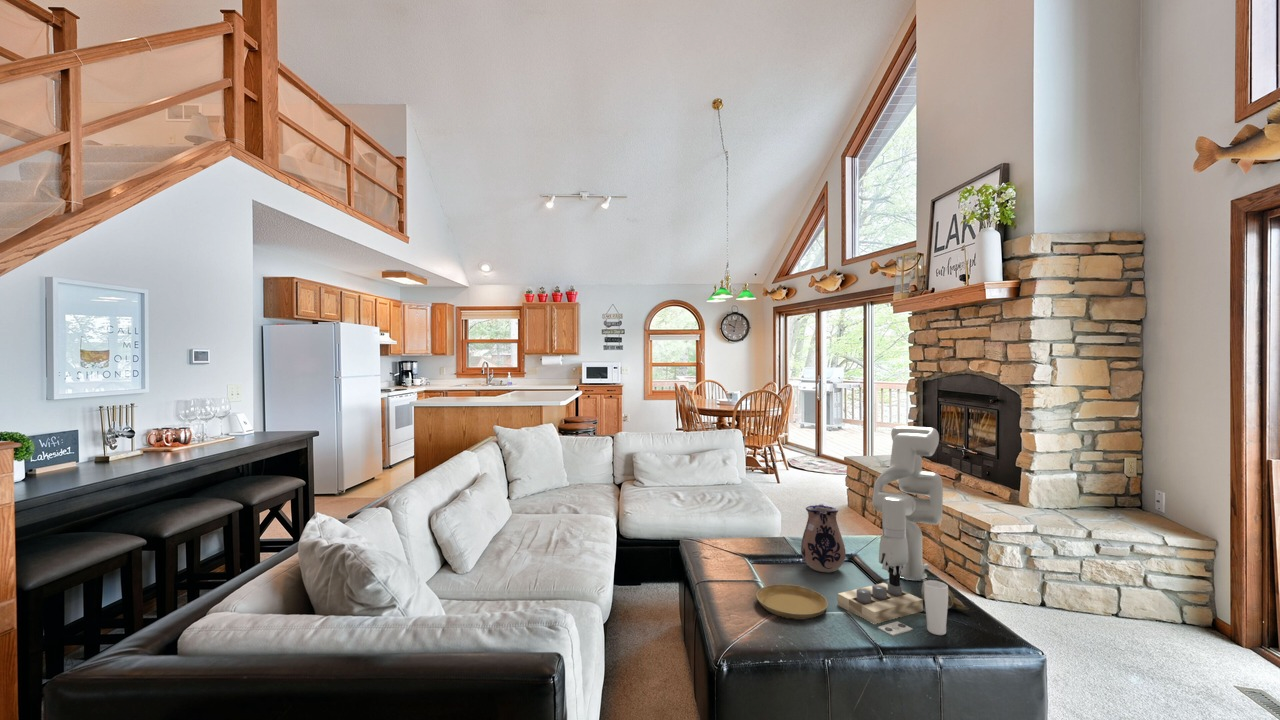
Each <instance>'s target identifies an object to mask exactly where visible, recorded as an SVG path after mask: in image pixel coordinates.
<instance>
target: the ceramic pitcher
mask: <svg viewBox="0 0 1280 720" xmlns="http://www.w3.org/2000/svg"><path fill="white" fill-rule="evenodd" d="M805 510H806V512H807V514H808V517H807V521H806V525H805V529H804V531H803V534H802V539H801V546H800V547H801V548H800V552H801V553H800V554H801V556H802V558H803V560H804V562H805V564H806V565H807V566H809V568H811V569H812V570H813V571H817V572H821V573H833V572H835V571H837V570H839V569H840V568H841V567H842V565H843V564H844V562H845V559H846V554H847V553H846V547H845V546H846V545H845V543H844V540H843V537H842V533H841V531H840V530H841V529H840V528H839V525H838V524H839V523H838V522H837V521H838V520H837V514H838V512H839V509H837V508H836V507H834V506H833V507H832V506H828V505H824V504H823V503H821V504H818V505H817V504H815V505H809V506H807V507H805Z"/></svg>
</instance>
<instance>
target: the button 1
mask: <svg viewBox="0 0 1280 720" xmlns="http://www.w3.org/2000/svg"><path fill="white" fill-rule="evenodd" d="M856 589H857V602H859V603H861V604H863V605H867V604H871V592H870V591H869V590H866V589H859V588H856Z"/></svg>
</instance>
